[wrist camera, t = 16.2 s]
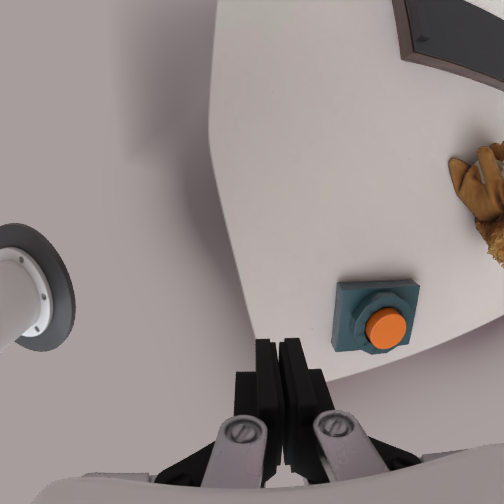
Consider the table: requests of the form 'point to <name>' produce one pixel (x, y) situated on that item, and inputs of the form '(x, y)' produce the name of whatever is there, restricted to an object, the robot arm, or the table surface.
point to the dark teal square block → (370, 311)
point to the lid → (458, 34)
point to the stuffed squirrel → (484, 194)
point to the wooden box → (420, 58)
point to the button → (385, 328)
